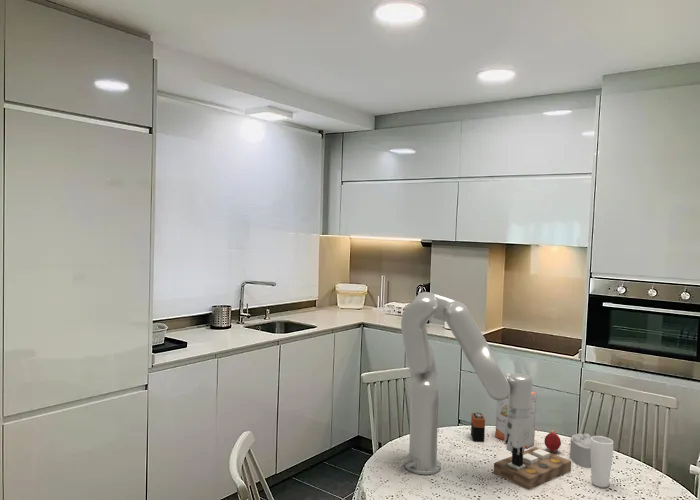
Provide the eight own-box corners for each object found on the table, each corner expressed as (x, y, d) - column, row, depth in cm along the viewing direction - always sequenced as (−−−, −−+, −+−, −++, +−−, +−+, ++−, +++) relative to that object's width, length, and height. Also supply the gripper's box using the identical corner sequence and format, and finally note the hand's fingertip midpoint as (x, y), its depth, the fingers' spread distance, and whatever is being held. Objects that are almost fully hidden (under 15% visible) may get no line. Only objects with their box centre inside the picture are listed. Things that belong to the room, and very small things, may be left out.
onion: (561, 455, 200) (562, 434, 199) (545, 454, 201) (546, 432, 200) (558, 449, 205) (559, 428, 205) (543, 447, 206) (543, 427, 206)
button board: (528, 489, 173) (529, 478, 173) (493, 473, 184) (494, 462, 184) (570, 470, 187) (571, 460, 187) (535, 456, 198) (536, 446, 198)
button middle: (530, 467, 184) (530, 460, 184) (520, 463, 187) (520, 456, 187) (537, 464, 186) (538, 457, 186) (527, 460, 190) (527, 453, 190)
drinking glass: (592, 477, 183) (594, 434, 182) (613, 484, 178) (615, 439, 178) (586, 484, 177) (588, 439, 177) (608, 491, 173) (610, 445, 172)
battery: (473, 441, 211) (474, 416, 210) (470, 434, 217) (471, 410, 217) (484, 442, 210) (485, 417, 210) (481, 435, 217) (482, 411, 217)
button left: (517, 475, 180) (518, 468, 180) (507, 470, 183) (507, 463, 183) (525, 472, 182) (525, 465, 182) (515, 467, 186) (515, 460, 186)
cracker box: (494, 437, 215) (496, 386, 214) (502, 434, 219) (504, 383, 218) (526, 449, 205) (528, 394, 204) (534, 445, 209) (536, 391, 208)
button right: (542, 462, 188) (543, 455, 188) (532, 458, 191) (532, 451, 191) (549, 459, 191) (550, 452, 190) (539, 455, 194) (539, 448, 194)
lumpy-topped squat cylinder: (579, 467, 190) (580, 443, 190) (564, 452, 203) (565, 429, 203) (608, 468, 190) (609, 444, 190) (591, 452, 203) (592, 430, 203)
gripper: (514, 419, 174) (512, 474, 175) (542, 410, 183) (540, 463, 184) (495, 412, 180) (493, 466, 181) (523, 404, 189) (521, 455, 190)
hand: (517, 464), depth 183 cm, fingers closed
